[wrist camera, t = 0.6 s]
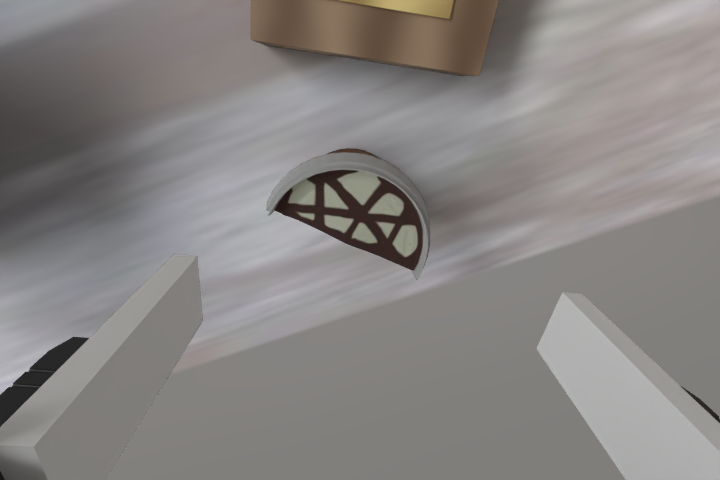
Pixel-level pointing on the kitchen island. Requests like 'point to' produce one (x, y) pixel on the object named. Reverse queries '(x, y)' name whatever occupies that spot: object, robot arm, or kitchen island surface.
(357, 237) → the food container
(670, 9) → the kitchen island surface
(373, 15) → the plate
